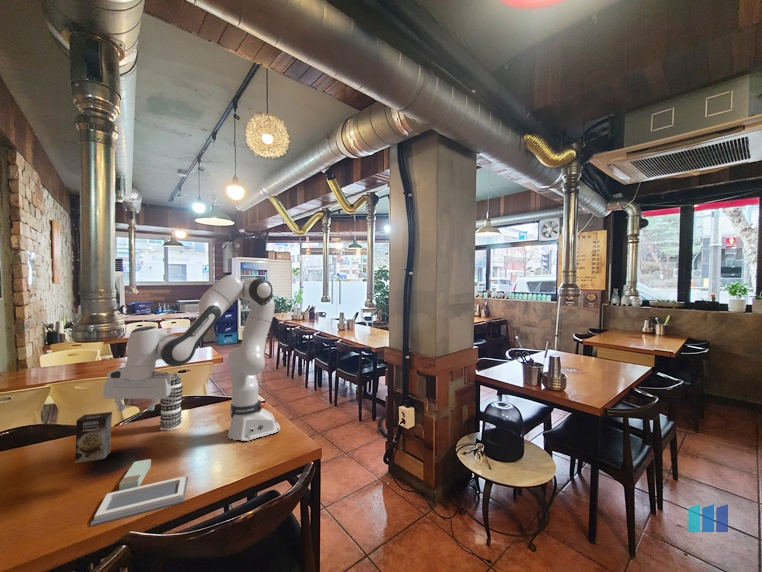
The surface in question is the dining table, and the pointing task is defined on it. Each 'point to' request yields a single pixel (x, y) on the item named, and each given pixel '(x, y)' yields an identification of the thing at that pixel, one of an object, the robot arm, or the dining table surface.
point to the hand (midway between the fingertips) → (136, 410)
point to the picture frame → (141, 500)
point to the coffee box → (93, 437)
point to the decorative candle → (172, 405)
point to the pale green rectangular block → (135, 474)
